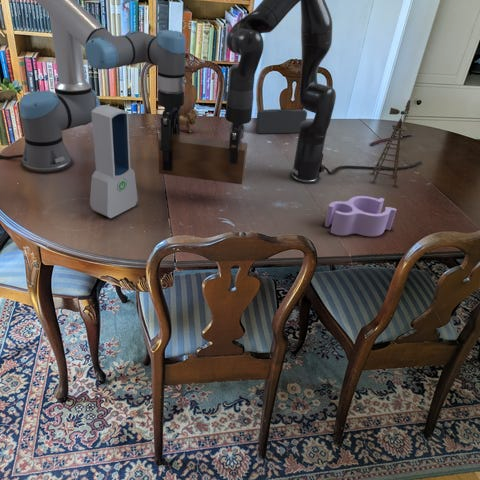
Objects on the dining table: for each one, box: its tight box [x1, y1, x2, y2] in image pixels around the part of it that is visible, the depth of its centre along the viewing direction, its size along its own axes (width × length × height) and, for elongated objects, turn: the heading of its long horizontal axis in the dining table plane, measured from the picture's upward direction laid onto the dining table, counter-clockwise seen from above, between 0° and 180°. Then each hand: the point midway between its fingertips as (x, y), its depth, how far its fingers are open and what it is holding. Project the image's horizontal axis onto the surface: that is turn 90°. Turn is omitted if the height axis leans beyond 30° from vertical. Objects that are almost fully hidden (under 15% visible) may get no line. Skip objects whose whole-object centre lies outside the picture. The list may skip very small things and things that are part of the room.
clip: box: [324, 195, 398, 237], centre depth 141 cm, size 20×12×7 cm, turn 109°
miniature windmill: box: [371, 99, 411, 187], centre depth 166 cm, size 9×8×30 cm
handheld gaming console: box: [255, 108, 308, 134], centre depth 205 cm, size 23×3×10 cm, turn 108°
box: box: [157, 133, 248, 185], centre depth 142 cm, size 26×6×11 cm, turn 83°
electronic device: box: [89, 104, 139, 219], centre depth 131 cm, size 12×8×30 cm, turn 148°
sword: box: [370, 134, 411, 146], centre depth 212 cm, size 31×3×1 cm, turn 126°
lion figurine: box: [180, 108, 200, 133], centre depth 195 cm, size 15×5×9 cm, turn 110°
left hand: (170, 165), depth 145 cm, fingers closed on box, 6 cm apart
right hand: (234, 158), depth 141 cm, fingers closed on box, 6 cm apart
